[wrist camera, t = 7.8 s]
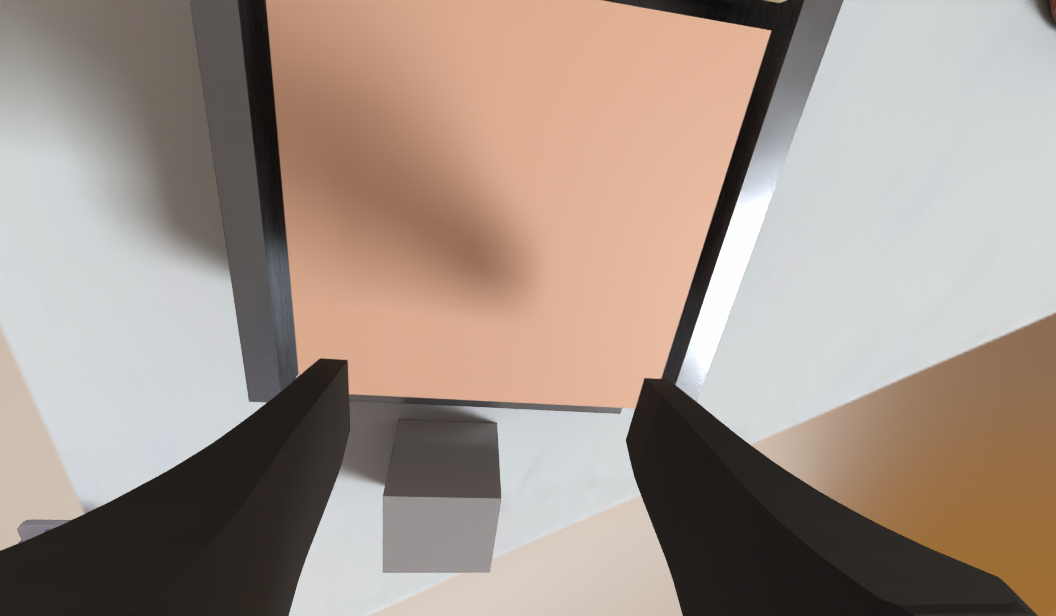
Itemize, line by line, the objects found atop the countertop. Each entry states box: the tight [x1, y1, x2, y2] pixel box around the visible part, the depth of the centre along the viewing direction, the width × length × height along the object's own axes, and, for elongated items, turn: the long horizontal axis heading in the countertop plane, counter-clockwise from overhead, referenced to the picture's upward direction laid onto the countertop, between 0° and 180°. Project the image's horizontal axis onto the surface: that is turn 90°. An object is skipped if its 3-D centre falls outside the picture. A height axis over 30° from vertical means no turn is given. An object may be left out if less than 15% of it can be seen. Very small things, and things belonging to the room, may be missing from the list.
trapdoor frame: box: [190, 0, 843, 414], centre depth 18 cm, size 15×19×6 cm
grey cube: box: [383, 419, 501, 573], centre depth 24 cm, size 5×5×5 cm
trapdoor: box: [266, 0, 786, 408], centre depth 13 cm, size 12×15×2 cm
